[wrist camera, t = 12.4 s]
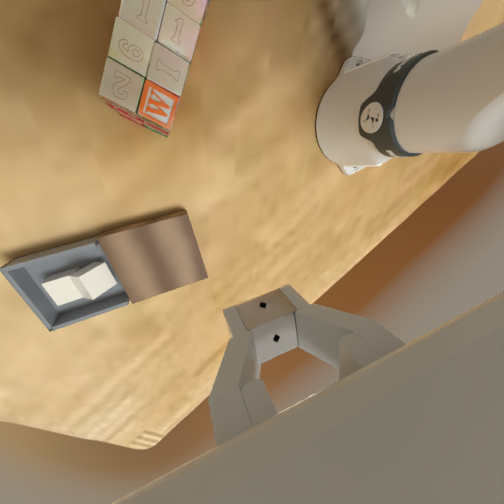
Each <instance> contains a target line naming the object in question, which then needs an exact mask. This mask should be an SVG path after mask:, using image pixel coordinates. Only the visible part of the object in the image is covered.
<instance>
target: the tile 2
mask: <svg viewBox="0 0 504 504" xmlns="http://www.w3.org/2000/svg"><path fill="white" fill-rule="evenodd" d="M69 277H70V279H71V280H72V282H73V283H74V285H75V286H76V288H77V289H78V291H79V292H80V294H81V295H82V297H83V298H86V299H92V300H94V299H95V298H97V297H98V296H100V295H101V294H102V293H104V292H105V291H107V290H108V289H110V288H111V287H113V286H114V285H116V284H117V283H116V281H115V279H114V277H113V275H112V274H111V272H110V270H109V268H108V267H107V265H106V263H105V262H96V261H95V262H93V263H91V264H89V265H88V266H86V267H84V268H82V269H80V270H78V271H77V272H75V273H73V274H71V275H69Z"/></svg>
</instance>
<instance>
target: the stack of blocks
mask: <svg viewBox="0 0 504 504" xmlns="http://www.w3.org/2000/svg"><path fill="white" fill-rule="evenodd" d="M209 2H210V0H121V3H120V8H119V14H118V16H117V17H116V19H115V23H114V28H113V33H112V37H111V42H110V46H109V51H108V57H107V59H106V62H105V66H104V70H103V75H102V79H101V83H100V88H99V95H100V96H101V97H102V98H104V99H105V100H106V103H107V104H108V105H109V106H110V107H112V108H113V109H115V110H116V111H117V112H118V113H119V114H120V115H121V116H123V117H125V118H127V119H129V120H131V121H133V122H135V123H137V124H140V125H142V126H144V127H147V128H149V129H151V130H153V131H155V132H157V133H159V134H161V135H163V136H165V137H168V136H169V133H170V130H171V126H172V123H173V120H174V117H175V114H176V112H177V108H178V105H179V102H180V98H181V95H182V92H183V89H184V85H185V82H186V79H187V76H188V72H189V68H190V64H191V61H192V58H193V54H194V51H195V47H196V43H197V39H198V35H199V32H200V29H201V24H202V21H204V19H205V15H206V12H207V9H208V6H209Z"/></svg>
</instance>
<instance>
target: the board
mask: <svg viewBox="0 0 504 504" xmlns="http://www.w3.org/2000/svg"><path fill="white" fill-rule="evenodd" d="M97 240H98V242H99V244H100V245H101V247H102V249H103V251H104V253H105V255H106V256H107V258H108V260H109V262H110V264H111V266H112V267H113V269H114V271H115V273H116V275H117V277H118V278H119V280H120V282H121V284H122V286H123V288H124V289H125V291H126V293H127V295H128V297H129V299H130V300H131V302H132V304H133V303H136V302H139V301H142V300H145V299H148V298H151V297H153V296H156V295H159V294H162V293H165V292H168V291H171V290H174V289H176V288H179V287H182V286H185V285H188V284H191V283H194V282H197V281H200V280H202V279H205V278H208V275H207V272H206V269H205V266H204V263H203V260H202V257H201V254H200V251H199V248H198V244H197V241H196V238H195V235H194V232H193V229H192V226H191V223H190V220H189V217H188V214H187V211H186V210H184V211H180V212H176V213H173V214H169V215H165V216H161V217H158V218H154V219H150V220H146V221H142V222H139V223H135V224H131V225H127V226H124V227H120V228H116V229H112V230H108V231H105V232H102V233H101V234H100V235H99V236H98V237H97Z"/></svg>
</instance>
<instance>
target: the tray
mask: <svg viewBox="0 0 504 504" xmlns="http://www.w3.org/2000/svg"><path fill="white" fill-rule="evenodd" d="M97 237H98V236H96V237H92V238H89V239H85V240H81V241H77V242H74V243H70V244H66V245H62V246H59V247H55V248H51V249H47V250H44V251H40V252H36V253H32V254H29V255H25V256H21V257H17V258H14V259H13V260H11V261H10V262H8V263H7V264H5V265H4V266H2V267H1V268H0V272H1V273H2V274H3V275H4V276H5V278H6V279H7V280H8V281H9V282H10V284H11V285H12V286H13V287H14V289H15V290H16V291H17V292H18V293H19V295H20V296H21V297H22V298H23V300H24V301H25V302H26V303H27V304H28V306H29V307H30V308H31V309H32V310H33V312H34V313H35V314H36V315H37V317H38V318H39V319H40V320H41V321H42V323H43V324H44V325H45V326H46V328H47V329H48V330H49V331H53V330H56V329H59V328H62V327H65V326H68V325H71V324H74V323H76V322H79V321H82V320H85V319H88V318H91V317H94V316H97V315H100V314H102V313H105V312H108V311H111V310H114V309H117V308H120V307H123V306H126V305H128V304H129V300H130V299H129V297H128V295H127V293H126V291H125V289H124V288H123V286H122V284H121V282H120V280H119V278H118V277H117V275H116V273H115V271H114V269H113V267H112V266H111V264H110V262H109V260H108V258H107V256H106V255H105V253H104V251H103V249H102V247H101V245H100V244H99V242H98V240H97ZM95 261H96V262H105V263H106V265H107V267H108V268H109V270H110V272H111V274H112V275H113V277H114V279H115V281H116V283H117V284H116V285H114V286H113V287H111V288H110V289H108V290H107V291H105V292H104V293H102V294H101V295H100V296H98V297H97V298H95V299H94V300H92V299H86V298H80V299H77V300H74V301H71V302H68V303H65V304H62V305H59V306H58V305H57V304H56V303H55V302H54V300H53V299H52V298H51V296H50V295H49V294H48V292H47V291H46V290H45V289H44V287H43V286H42V285H41V284H42V283H43V282H44V281H45V280H46V279H47V278H48V277H49V276H51V275H54V274H57V273H60V272H64V271H67V270H70V269H74V268H77V267H79V268H80V269H82V268H84V267H86V266H88V265H89V264H91V263H93V262H95Z"/></svg>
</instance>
